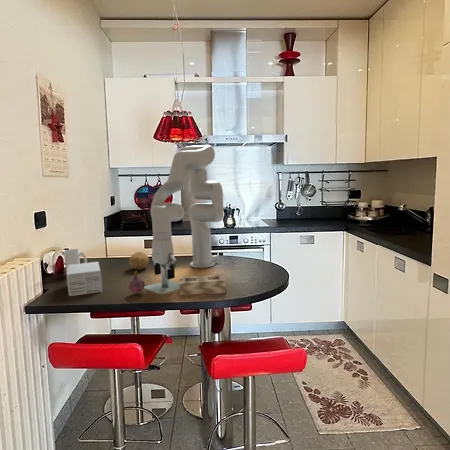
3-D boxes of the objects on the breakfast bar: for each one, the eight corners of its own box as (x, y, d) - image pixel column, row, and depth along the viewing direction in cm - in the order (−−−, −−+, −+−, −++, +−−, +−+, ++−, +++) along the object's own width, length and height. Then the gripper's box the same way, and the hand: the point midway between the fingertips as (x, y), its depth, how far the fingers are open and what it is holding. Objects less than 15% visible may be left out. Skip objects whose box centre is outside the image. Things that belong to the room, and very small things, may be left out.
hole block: (223, 285, 158) (223, 274, 157) (226, 292, 149) (225, 280, 148) (180, 288, 156) (179, 277, 155) (180, 296, 147) (179, 283, 146)
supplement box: (69, 285, 167) (67, 264, 166) (100, 281, 172) (98, 261, 170) (68, 296, 151) (66, 274, 150) (102, 292, 156) (100, 269, 155)
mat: (170, 280, 168) (170, 279, 168) (188, 287, 158) (188, 286, 158) (141, 287, 159) (141, 287, 159) (159, 295, 149) (159, 294, 149)
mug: (64, 277, 180) (61, 252, 178) (68, 273, 186) (65, 249, 185) (86, 275, 181) (84, 251, 179) (89, 272, 188) (87, 248, 186)
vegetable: (127, 298, 147) (125, 272, 145) (131, 292, 153) (129, 268, 152) (143, 297, 147) (141, 272, 145) (146, 292, 153) (145, 268, 152)
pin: (166, 285, 160) (165, 262, 159) (170, 286, 158) (169, 263, 157) (160, 286, 159) (158, 263, 157) (164, 288, 156) (162, 264, 155)
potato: (127, 273, 183) (126, 257, 182) (131, 266, 197) (130, 251, 196) (148, 272, 184) (147, 256, 183) (150, 265, 198) (149, 250, 197)
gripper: (143, 234, 159) (146, 274, 162) (166, 239, 146) (168, 282, 149) (158, 232, 164) (161, 270, 167) (182, 236, 151) (184, 278, 154)
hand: (164, 276), depth 158 cm, fingers open, 9 cm apart
